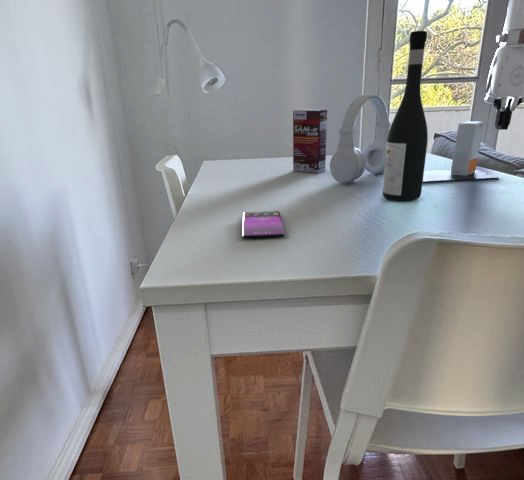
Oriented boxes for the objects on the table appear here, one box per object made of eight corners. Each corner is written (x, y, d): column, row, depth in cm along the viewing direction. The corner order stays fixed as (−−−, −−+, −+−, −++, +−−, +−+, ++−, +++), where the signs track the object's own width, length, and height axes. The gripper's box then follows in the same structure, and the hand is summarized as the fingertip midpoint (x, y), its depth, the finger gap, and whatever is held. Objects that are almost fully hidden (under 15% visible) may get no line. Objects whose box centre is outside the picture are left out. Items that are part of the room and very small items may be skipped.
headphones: (356, 186, 115) (361, 96, 105) (327, 182, 120) (330, 97, 110) (395, 173, 128) (403, 92, 118) (368, 171, 133) (373, 93, 123)
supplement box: (292, 171, 137) (291, 110, 129) (300, 168, 140) (300, 109, 132) (318, 173, 133) (319, 110, 125) (326, 170, 136) (328, 109, 128)
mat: (473, 170, 127) (473, 168, 127) (498, 179, 115) (499, 177, 115) (393, 174, 127) (393, 172, 126) (410, 184, 115) (410, 182, 114)
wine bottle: (390, 204, 97) (407, 29, 83) (376, 196, 104) (389, 34, 89) (427, 201, 98) (450, 28, 84) (410, 193, 105) (429, 32, 90)
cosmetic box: (466, 176, 118) (475, 123, 112) (449, 175, 120) (457, 123, 114) (475, 172, 122) (485, 121, 116) (459, 171, 124) (467, 121, 118)
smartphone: (279, 215, 92) (279, 210, 92) (284, 237, 79) (284, 231, 79) (242, 217, 92) (242, 212, 92) (241, 239, 79) (241, 233, 79)
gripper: (495, 40, 103) (478, 131, 113) (561, 38, 104) (539, 129, 113) (479, 42, 110) (464, 128, 119) (542, 40, 111) (522, 126, 120)
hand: (501, 129), depth 116 cm, fingers closed
